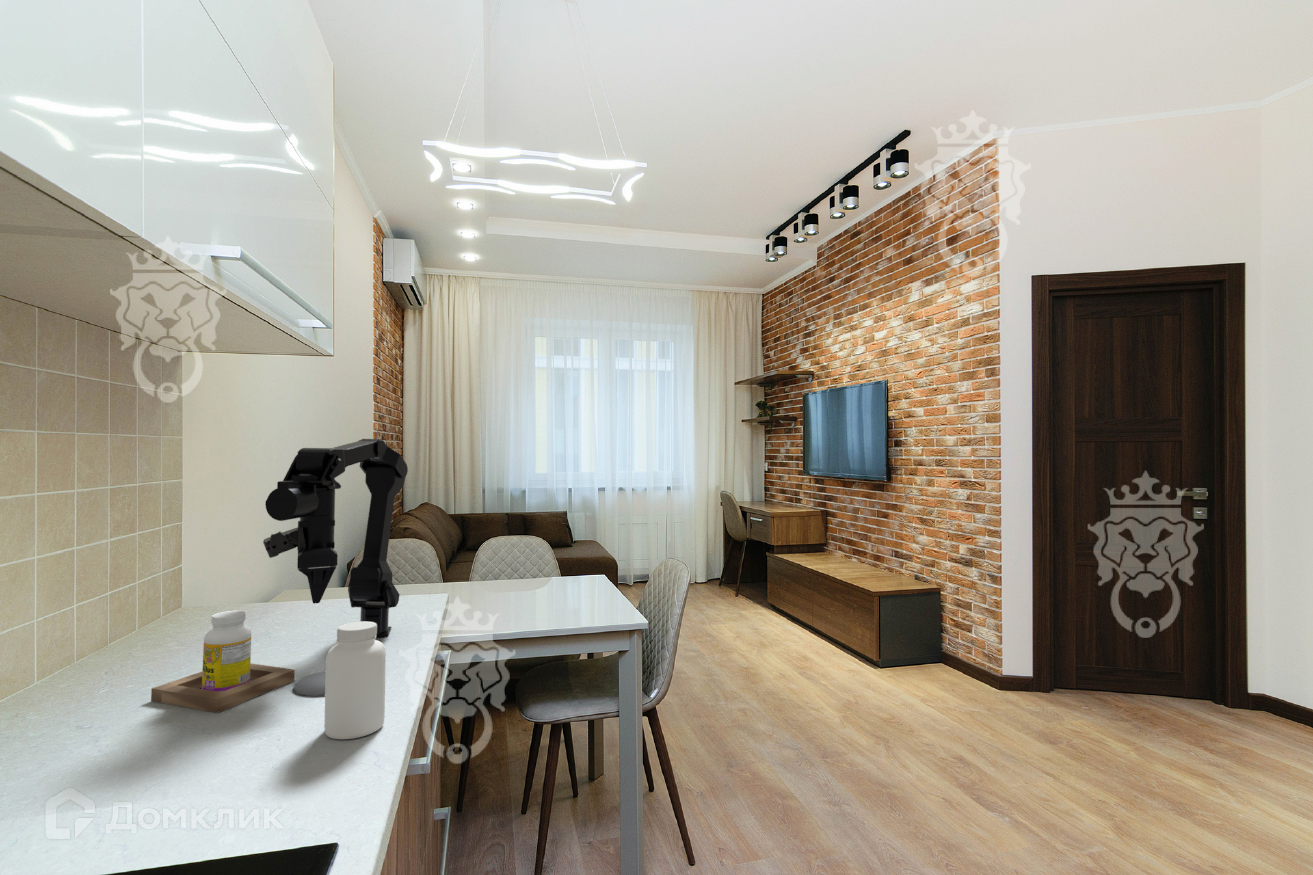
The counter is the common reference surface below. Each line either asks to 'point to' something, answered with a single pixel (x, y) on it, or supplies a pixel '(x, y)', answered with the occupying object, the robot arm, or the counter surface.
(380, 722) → the pill bottle
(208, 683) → the supplement bottle
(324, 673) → the coaster
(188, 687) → the pocket block
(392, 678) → the counter surface
